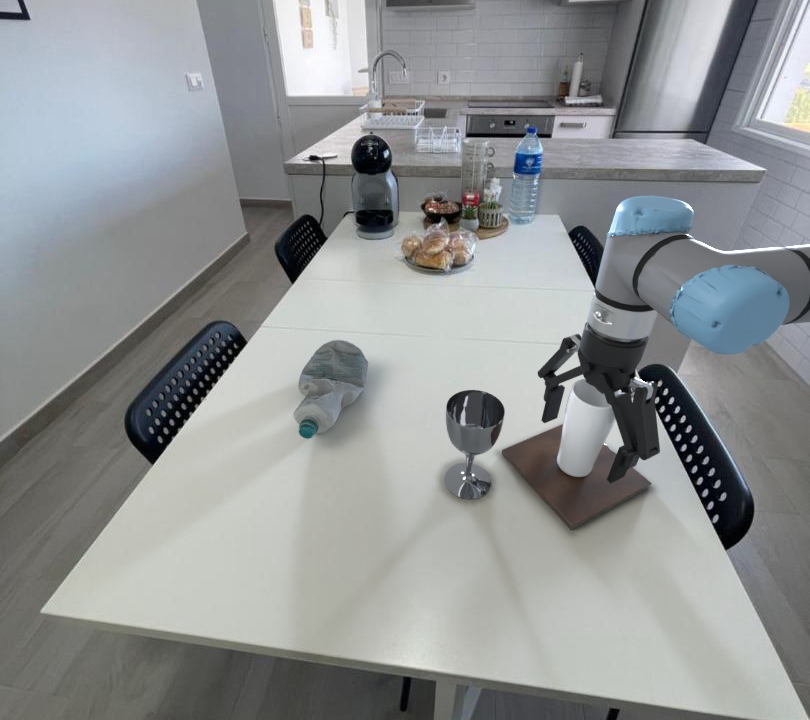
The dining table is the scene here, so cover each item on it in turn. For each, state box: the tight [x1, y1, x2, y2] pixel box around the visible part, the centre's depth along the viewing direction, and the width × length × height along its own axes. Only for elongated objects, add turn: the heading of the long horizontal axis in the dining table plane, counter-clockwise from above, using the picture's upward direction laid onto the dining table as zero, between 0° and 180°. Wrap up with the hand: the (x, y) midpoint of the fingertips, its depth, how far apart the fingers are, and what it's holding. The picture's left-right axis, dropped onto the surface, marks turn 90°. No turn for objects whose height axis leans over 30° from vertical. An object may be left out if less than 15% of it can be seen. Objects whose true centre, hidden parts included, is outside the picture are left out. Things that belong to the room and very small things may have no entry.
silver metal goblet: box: [444, 389, 506, 500], centre depth 65 cm, size 8×8×15 cm
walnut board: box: [501, 423, 652, 531], centre depth 71 cm, size 16×16×1 cm
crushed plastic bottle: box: [292, 339, 369, 439], centre depth 83 cm, size 13×7×25 cm
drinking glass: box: [557, 378, 621, 477], centre depth 66 cm, size 7×7×15 cm
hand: (579, 446), depth 68 cm, fingers open, 13 cm apart
